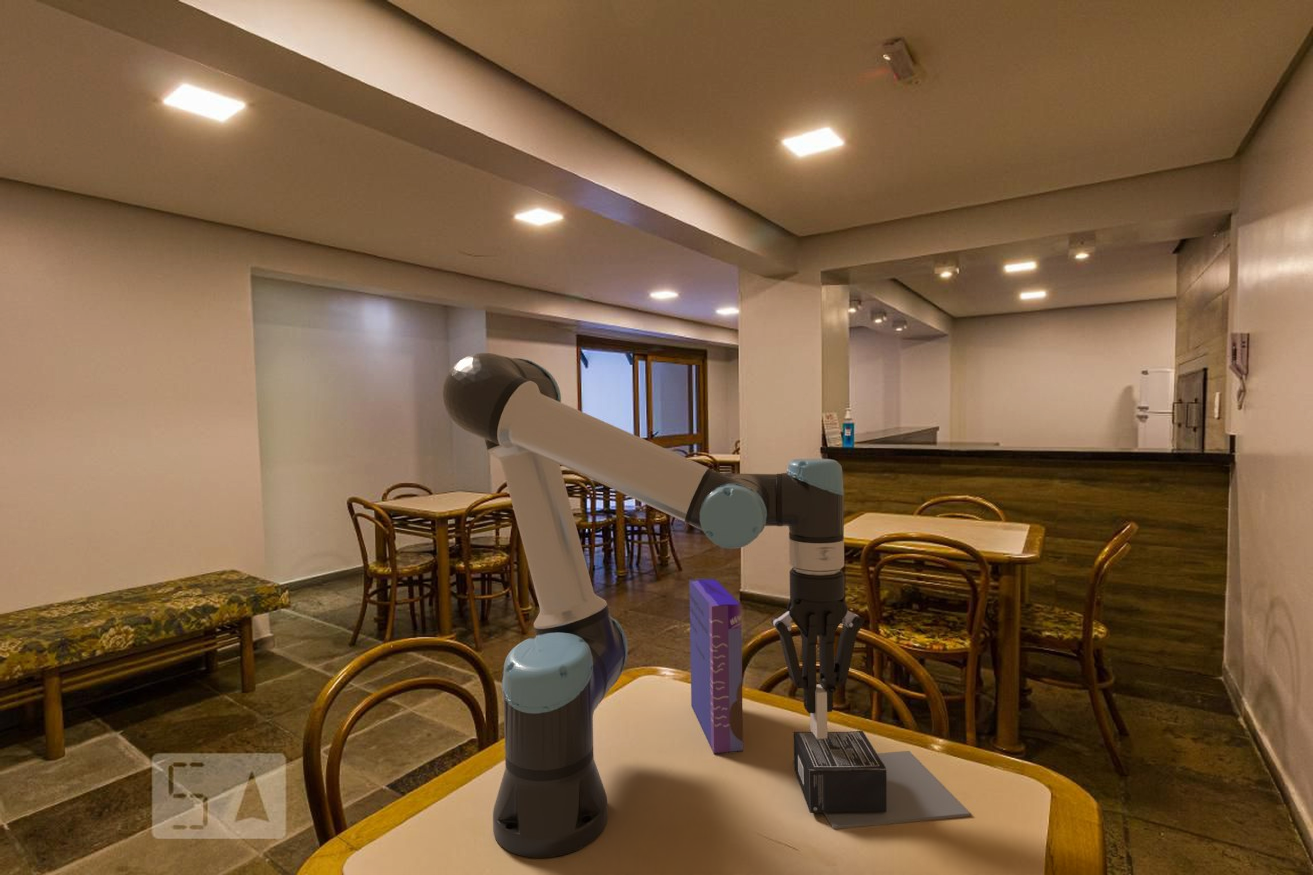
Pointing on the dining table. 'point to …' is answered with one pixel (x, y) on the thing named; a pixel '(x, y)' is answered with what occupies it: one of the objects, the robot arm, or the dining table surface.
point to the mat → (905, 796)
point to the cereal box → (716, 664)
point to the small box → (840, 773)
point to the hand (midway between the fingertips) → (818, 733)
